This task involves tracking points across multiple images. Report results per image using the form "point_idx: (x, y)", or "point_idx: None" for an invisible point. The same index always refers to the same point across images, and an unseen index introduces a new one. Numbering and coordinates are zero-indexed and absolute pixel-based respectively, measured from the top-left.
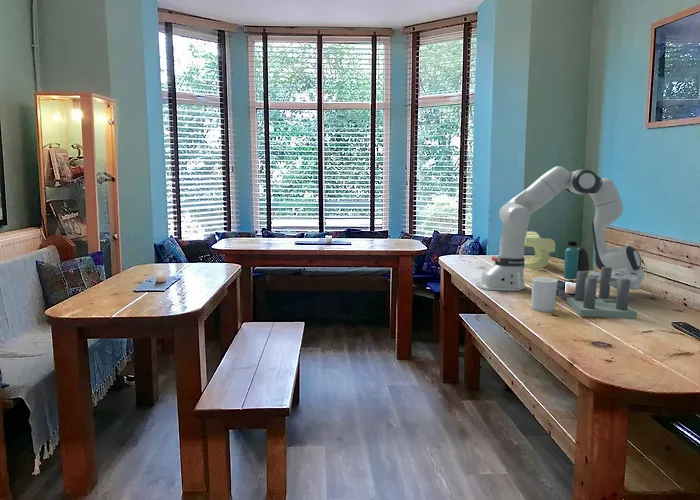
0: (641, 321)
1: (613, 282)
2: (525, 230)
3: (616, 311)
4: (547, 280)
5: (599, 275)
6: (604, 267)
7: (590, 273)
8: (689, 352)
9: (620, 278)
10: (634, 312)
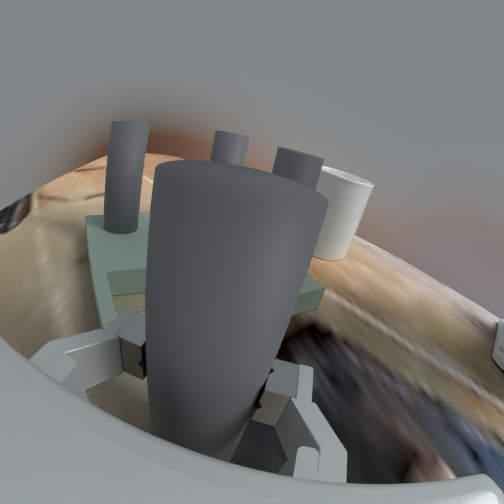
0: (80, 224)
1: (117, 324)
2: None
3: (140, 214)
4: (353, 189)
5: (368, 485)
6: (280, 187)
7: (492, 484)
8: (75, 171)
9: (141, 123)
10: (91, 217)
